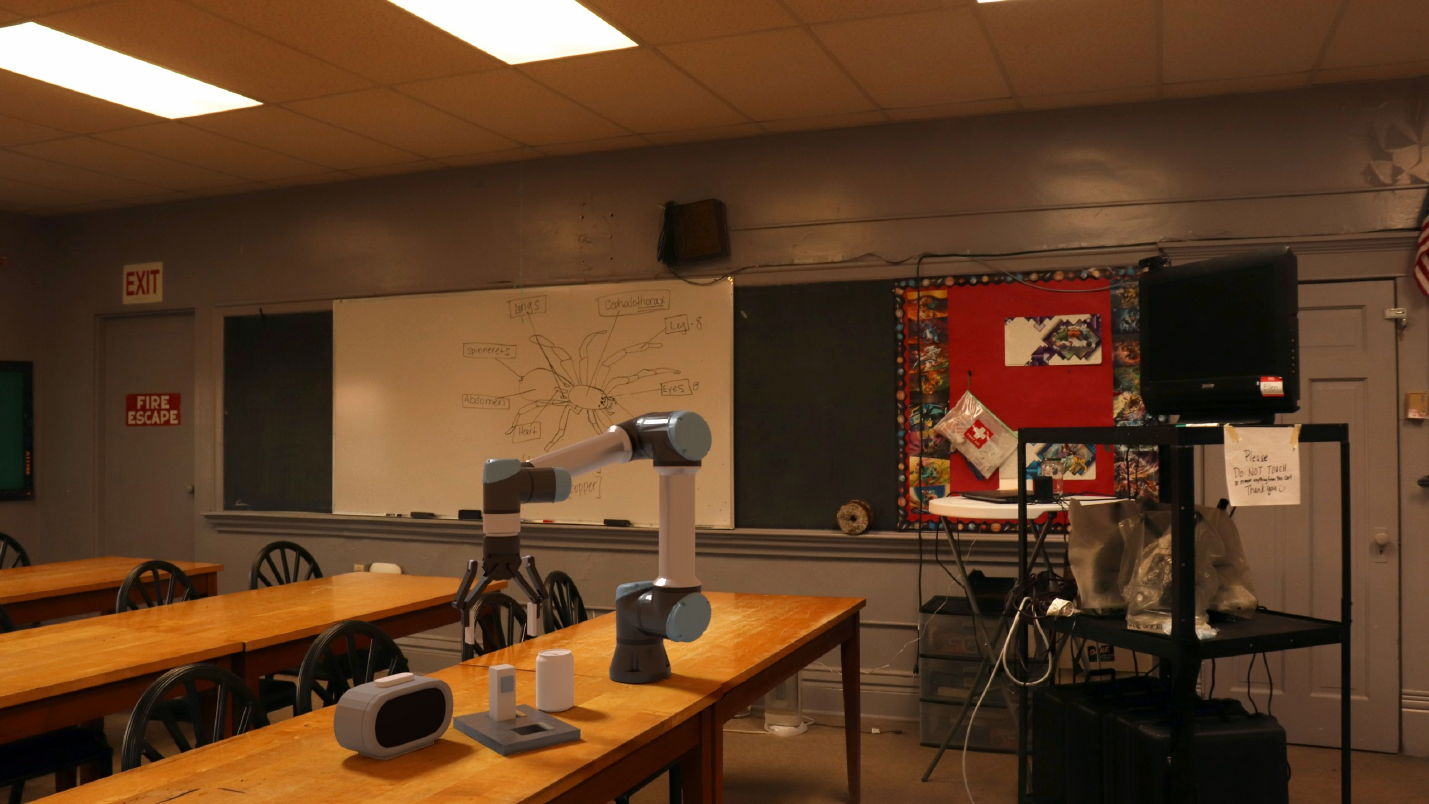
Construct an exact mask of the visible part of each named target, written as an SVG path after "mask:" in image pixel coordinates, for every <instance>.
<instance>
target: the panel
mask: <svg viewBox="0 0 1429 804" xmlns="http://www.w3.org/2000/svg"><path fill="white" fill-rule="evenodd" d="M452 720H453V721H452V727H453V728H454V729H456V730H457V731H459V732H461V733H463V734H464V735H465V736H468V737H470V738H471V739H473V740H475V741H477V742H478V743H480V744H482V745H484V746H486V747H487V748H488V749H490V750H492V751H494V752H495V753H497V754H499V755H500V756H503V757H507V756H511V755H516V754H521V753H525V752H530V751H534V750H540V749H543V748H548V747H553V746H557V745H563V744H568V743H572V742H576V741H581V736H582V735H581V733H582V731H581V728H579V727H576V726H574V725H572V724H569V723H568V722H566V721H563V720H561V719H559V718H557V717H555V716H553V715H550V714H548V713H546V712H545V711H542V710H541V709H538V708H535V707H533V706H530V705H529V704H526V703H523V704H519V705H516V718H514V719H508V720H503V721H498V722H495V721H493V720H491V719H489V710H485V711H480V712H474V713H468V714H462V715H457V716H452Z"/></svg>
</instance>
